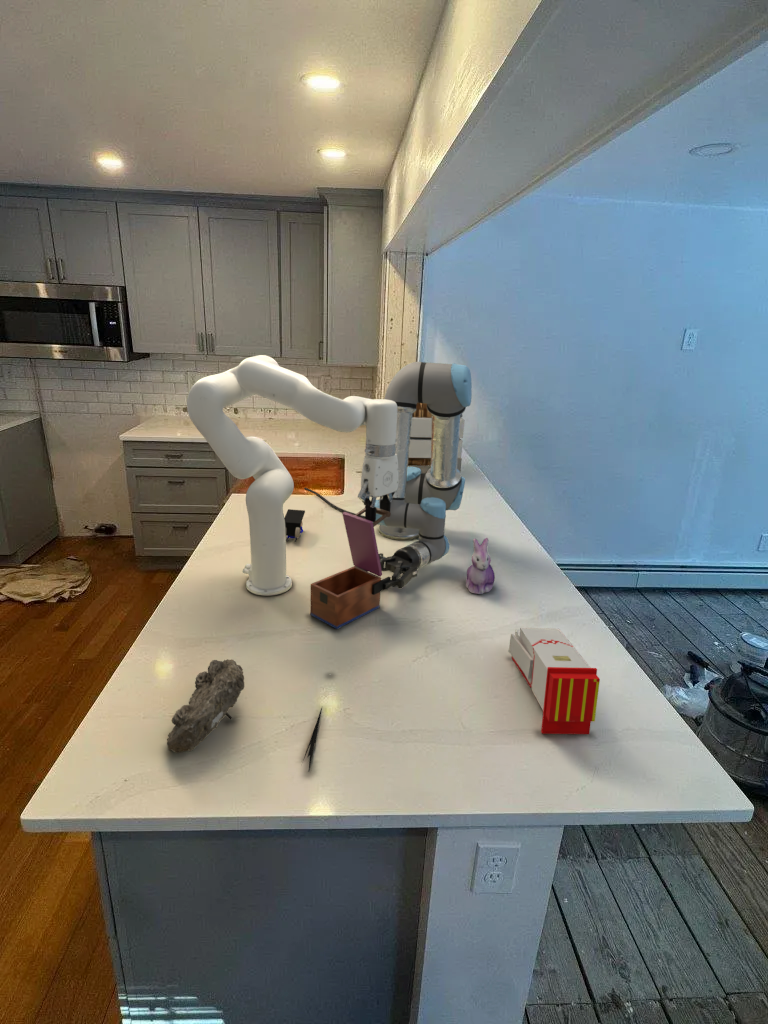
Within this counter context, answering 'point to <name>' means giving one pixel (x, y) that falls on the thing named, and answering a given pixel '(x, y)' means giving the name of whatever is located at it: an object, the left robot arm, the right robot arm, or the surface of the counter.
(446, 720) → the counter surface
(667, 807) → the counter surface
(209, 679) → the fossil
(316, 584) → the chest
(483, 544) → the figurine
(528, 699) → the counter surface
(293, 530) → the figurine character
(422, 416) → the transformer
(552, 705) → the toy
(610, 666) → the counter surface
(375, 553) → the lid
